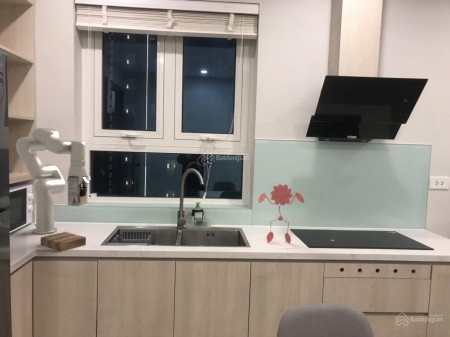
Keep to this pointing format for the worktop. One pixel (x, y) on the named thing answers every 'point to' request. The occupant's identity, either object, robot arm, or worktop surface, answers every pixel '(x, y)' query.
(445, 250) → the worktop surface
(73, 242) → the board
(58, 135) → the robot arm
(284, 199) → the pink flower figurine
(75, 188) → the coffee box
